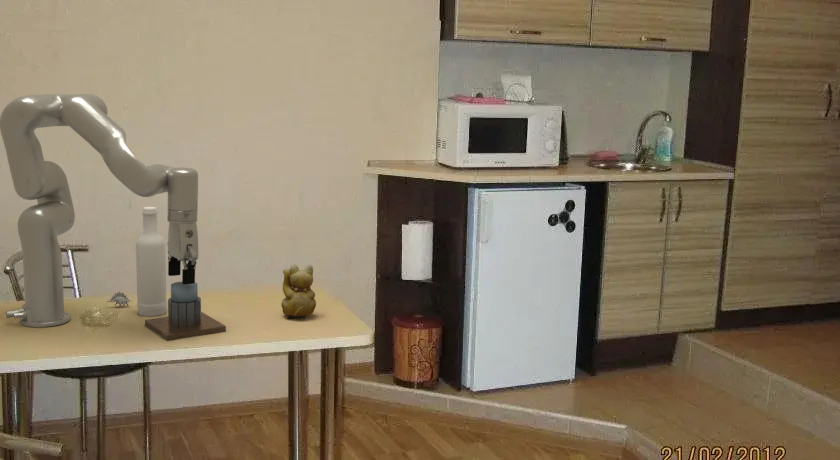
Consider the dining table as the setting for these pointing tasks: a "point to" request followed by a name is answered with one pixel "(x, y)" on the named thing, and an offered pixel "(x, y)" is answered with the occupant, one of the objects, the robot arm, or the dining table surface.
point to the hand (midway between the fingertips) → (181, 279)
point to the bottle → (151, 267)
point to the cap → (184, 292)
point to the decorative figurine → (298, 292)
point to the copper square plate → (184, 321)
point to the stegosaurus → (119, 299)
